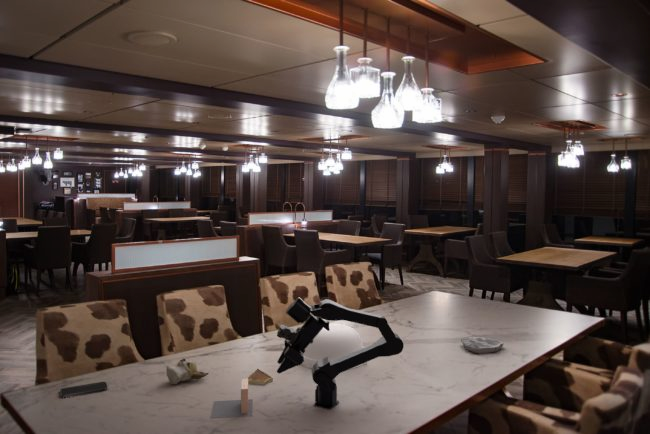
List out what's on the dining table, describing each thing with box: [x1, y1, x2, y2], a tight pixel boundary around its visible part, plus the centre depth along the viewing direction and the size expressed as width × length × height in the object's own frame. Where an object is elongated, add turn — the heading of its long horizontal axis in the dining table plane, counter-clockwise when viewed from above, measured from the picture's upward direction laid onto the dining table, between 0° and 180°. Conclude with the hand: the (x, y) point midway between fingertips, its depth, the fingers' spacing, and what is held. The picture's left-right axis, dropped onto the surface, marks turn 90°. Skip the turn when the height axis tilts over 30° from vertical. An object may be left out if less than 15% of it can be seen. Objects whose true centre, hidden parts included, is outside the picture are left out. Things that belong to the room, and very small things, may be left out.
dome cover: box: [300, 323, 368, 370], centre depth 215 cm, size 32×30×14 cm
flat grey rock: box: [460, 336, 504, 355], centre depth 230 cm, size 20×17×3 cm
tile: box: [240, 378, 249, 414], centre depth 164 cm, size 2×9×8 cm, turn 7°
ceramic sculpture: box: [165, 358, 209, 385], centre depth 189 cm, size 11×9×15 cm
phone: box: [59, 381, 108, 398], centre depth 179 cm, size 8×1×15 cm
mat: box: [210, 398, 254, 419], centre depth 164 cm, size 13×13×1 cm
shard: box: [246, 368, 274, 386], centre depth 191 cm, size 13×9×2 cm
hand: (278, 367), depth 166 cm, fingers open, 9 cm apart
